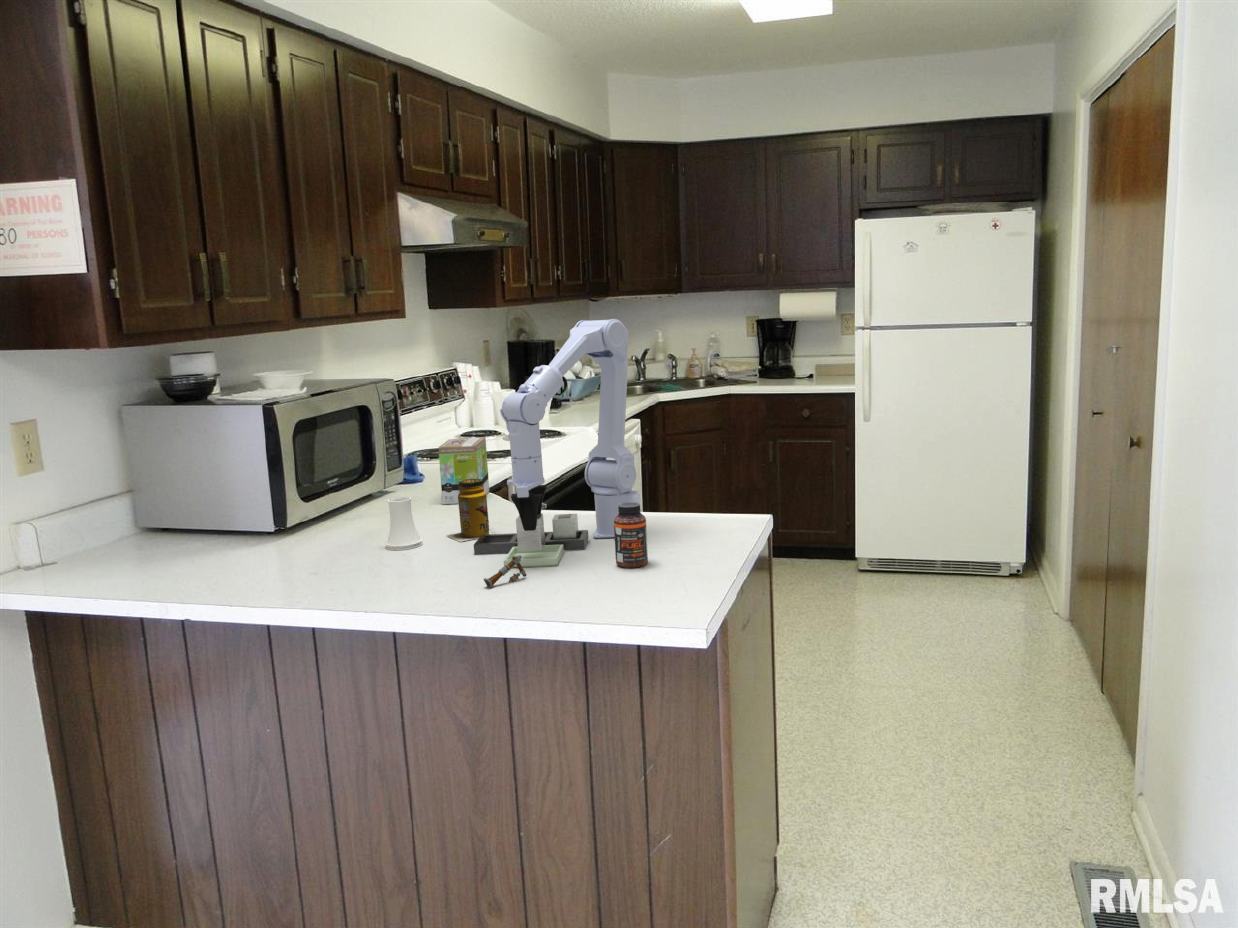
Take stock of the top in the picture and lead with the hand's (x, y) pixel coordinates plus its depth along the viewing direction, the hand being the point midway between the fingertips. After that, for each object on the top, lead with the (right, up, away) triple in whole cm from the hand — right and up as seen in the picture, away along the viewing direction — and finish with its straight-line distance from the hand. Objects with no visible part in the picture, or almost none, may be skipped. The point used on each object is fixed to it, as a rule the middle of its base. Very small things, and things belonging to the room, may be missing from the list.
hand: (532, 527), depth 188 cm
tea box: (-22, +3, +65) cm, 69 cm away
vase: (-28, -5, +19) cm, 35 cm away
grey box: (0, -4, +1) cm, 4 cm away
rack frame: (-1, -5, +11) cm, 12 cm away
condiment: (-15, -4, +24) cm, 29 cm away
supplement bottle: (+19, -7, -6) cm, 21 cm away
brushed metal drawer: (+6, -4, +11) cm, 13 cm away
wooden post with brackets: (-4, -9, -13) cm, 16 cm away
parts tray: (0, -6, +1) cm, 6 cm away
